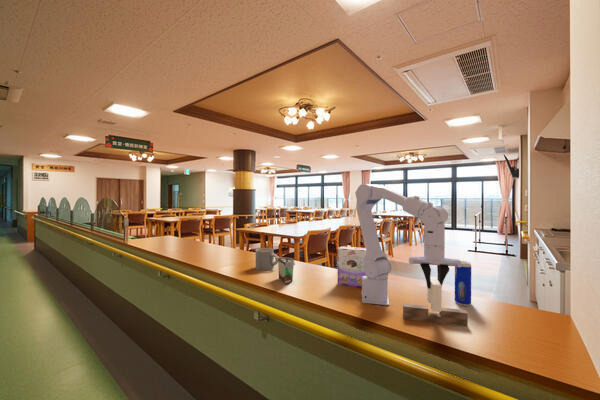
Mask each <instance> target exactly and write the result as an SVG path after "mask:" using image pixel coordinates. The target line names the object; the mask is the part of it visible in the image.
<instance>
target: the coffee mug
mask: <svg viewBox="0 0 600 400" xmlns="http://www.w3.org/2000/svg"><path fill="white" fill-rule="evenodd" d="M278 257H279V256H278V255H277V254H276V253H275V250H274V248H271V247H269V248H268V247H262V248H256V249H255V269H256V270H257V271H270V270H273V269H274V268H275V266H277V264H278Z"/></svg>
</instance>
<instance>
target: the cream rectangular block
mask: <svg viewBox="0 0 600 400" xmlns="http://www.w3.org/2000/svg"><path fill="white" fill-rule="evenodd" d="M430 282H431V288H430V289H429V288H428V287H427V302H428V304H430V309H431V311H432V312H436V313H438V312H441V308H442V294H443V291H442V287H443V284H442V285H441V284H440V282H439V281H438V277H436V276H430Z"/></svg>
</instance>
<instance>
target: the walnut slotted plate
mask: <svg viewBox="0 0 600 400" xmlns="http://www.w3.org/2000/svg"><path fill="white" fill-rule="evenodd" d="M468 315H469V314H468V312H467V310H465V309H461V308H460V309H458V308H449V307H441V312H439V313H438V312H429V308H428V305H421V304H419V305H418V304H411V303H402V318H403V320H409V321H410V320H411V321H417V320H418V321H419V322H427V323H433V324H434V323H435V324H442V323H443V324H444V325H452V326H460V327H468V326H469V325H468V324H469V322H468V321H469V318H468V317H469V316H468Z"/></svg>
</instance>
